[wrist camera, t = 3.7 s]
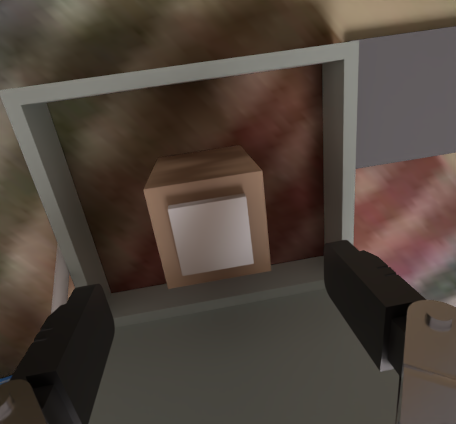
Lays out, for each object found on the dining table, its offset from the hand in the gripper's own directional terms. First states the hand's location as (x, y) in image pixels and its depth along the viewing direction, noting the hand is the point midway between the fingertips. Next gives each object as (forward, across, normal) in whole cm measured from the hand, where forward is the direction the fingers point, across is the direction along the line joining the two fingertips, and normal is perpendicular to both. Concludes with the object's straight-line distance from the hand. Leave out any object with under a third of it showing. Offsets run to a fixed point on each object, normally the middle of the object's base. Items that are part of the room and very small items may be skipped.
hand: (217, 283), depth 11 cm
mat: (+11, -14, -4) cm, 18 cm away
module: (+11, 0, 0) cm, 11 cm away
